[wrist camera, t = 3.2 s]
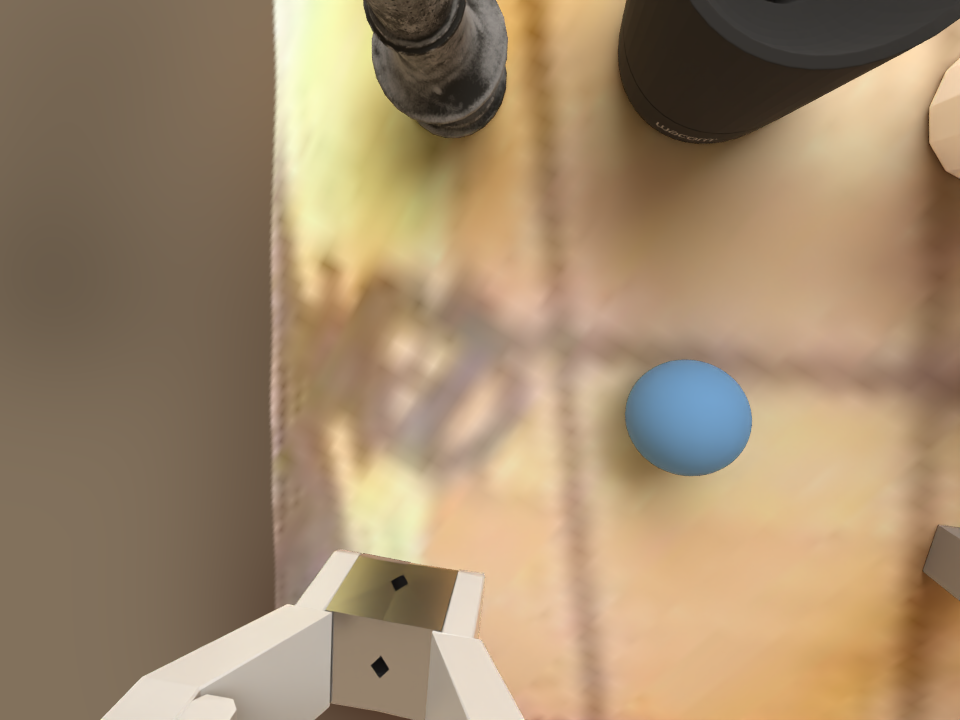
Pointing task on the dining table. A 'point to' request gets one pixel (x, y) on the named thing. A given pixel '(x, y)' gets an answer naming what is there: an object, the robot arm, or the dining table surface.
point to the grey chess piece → (440, 60)
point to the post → (945, 559)
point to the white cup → (947, 121)
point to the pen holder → (757, 56)
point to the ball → (688, 417)
